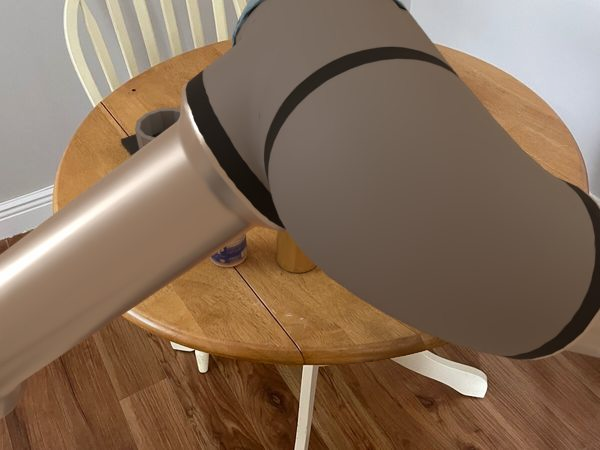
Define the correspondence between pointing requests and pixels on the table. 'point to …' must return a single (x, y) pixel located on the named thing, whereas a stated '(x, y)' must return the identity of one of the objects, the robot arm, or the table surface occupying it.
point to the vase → (291, 255)
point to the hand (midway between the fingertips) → (362, 224)
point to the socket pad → (150, 128)
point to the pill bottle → (231, 253)
